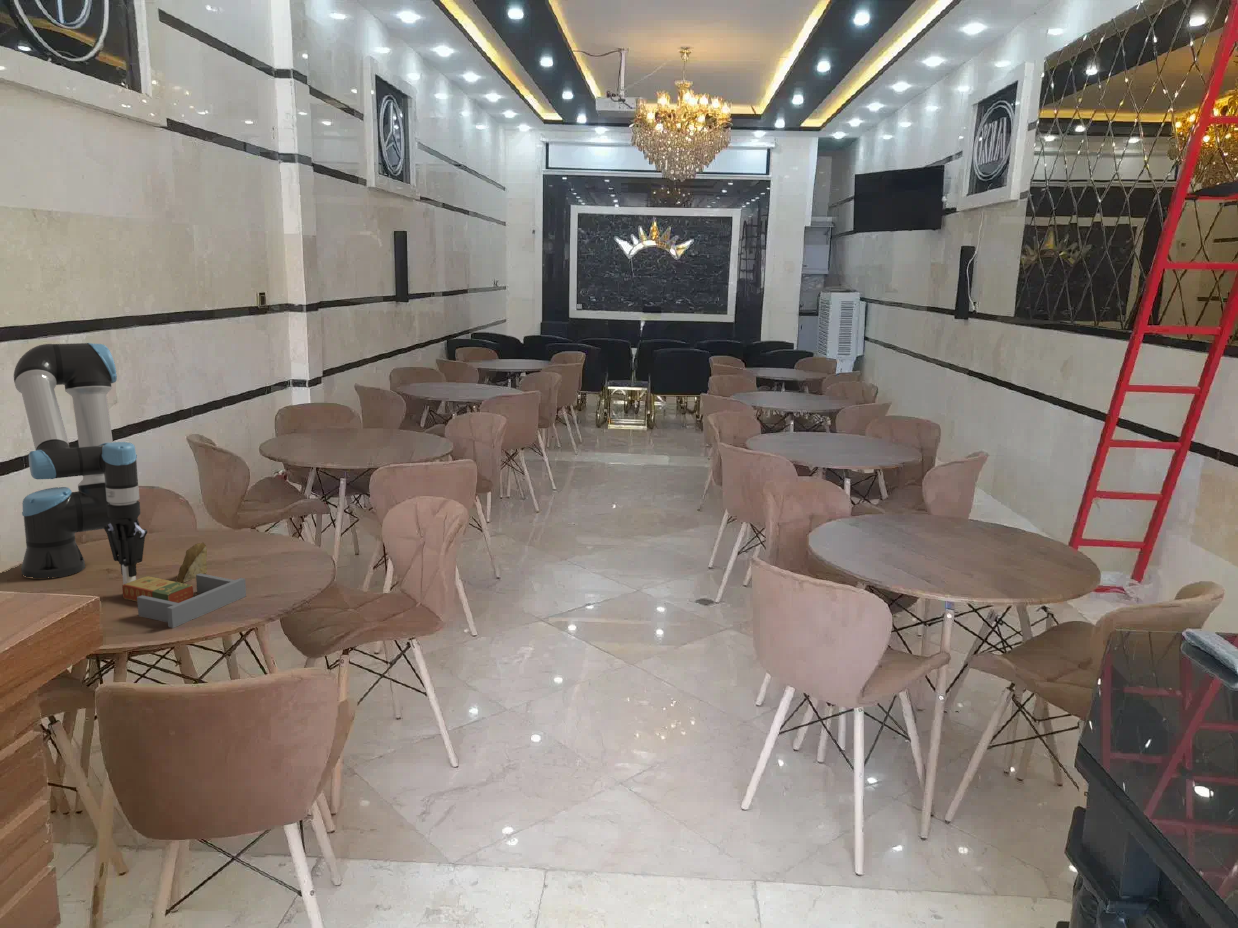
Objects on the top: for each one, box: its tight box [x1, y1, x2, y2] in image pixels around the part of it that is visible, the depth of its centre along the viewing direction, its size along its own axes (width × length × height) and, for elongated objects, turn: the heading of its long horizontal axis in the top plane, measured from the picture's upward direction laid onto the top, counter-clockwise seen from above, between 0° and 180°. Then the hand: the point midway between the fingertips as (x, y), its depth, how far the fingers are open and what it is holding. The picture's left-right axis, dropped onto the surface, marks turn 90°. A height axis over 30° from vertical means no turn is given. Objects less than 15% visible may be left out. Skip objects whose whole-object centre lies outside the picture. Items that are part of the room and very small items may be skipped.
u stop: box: [136, 573, 247, 629], centre depth 223 cm, size 14×24×5 cm, turn 160°
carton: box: [121, 575, 194, 603], centre depth 228 cm, size 8×16×4 cm, turn 70°
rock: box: [175, 542, 208, 584], centre depth 244 cm, size 11×9×10 cm
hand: (130, 587), depth 230 cm, fingers closed
